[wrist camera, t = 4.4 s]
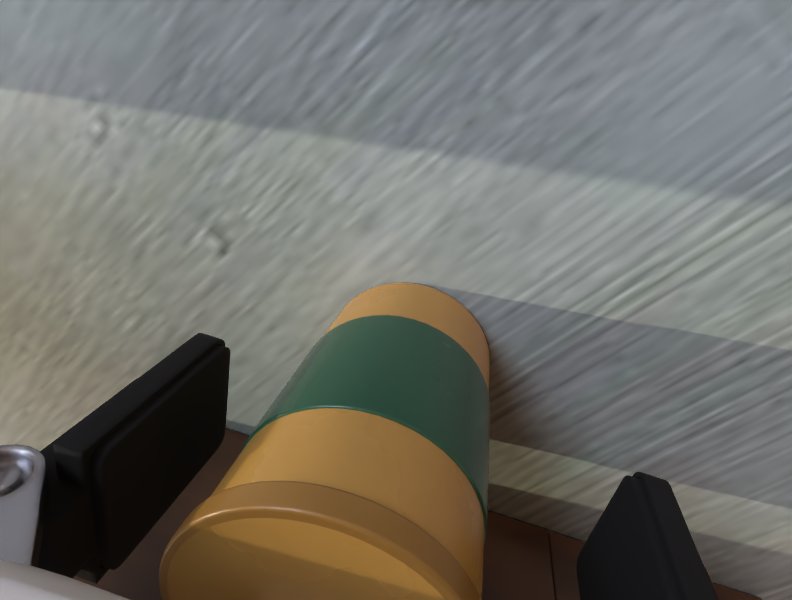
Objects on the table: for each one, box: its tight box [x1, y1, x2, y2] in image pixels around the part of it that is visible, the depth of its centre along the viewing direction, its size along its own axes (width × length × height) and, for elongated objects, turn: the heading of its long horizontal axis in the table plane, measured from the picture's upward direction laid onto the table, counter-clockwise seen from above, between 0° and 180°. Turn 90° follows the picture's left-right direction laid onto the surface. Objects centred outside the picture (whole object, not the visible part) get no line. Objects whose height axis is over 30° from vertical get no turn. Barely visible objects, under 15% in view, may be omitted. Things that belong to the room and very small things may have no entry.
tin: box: [159, 283, 490, 600], centre depth 10 cm, size 5×5×8 cm
